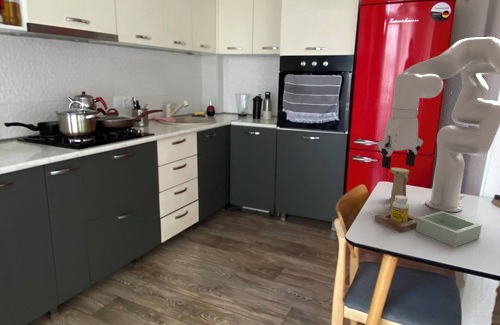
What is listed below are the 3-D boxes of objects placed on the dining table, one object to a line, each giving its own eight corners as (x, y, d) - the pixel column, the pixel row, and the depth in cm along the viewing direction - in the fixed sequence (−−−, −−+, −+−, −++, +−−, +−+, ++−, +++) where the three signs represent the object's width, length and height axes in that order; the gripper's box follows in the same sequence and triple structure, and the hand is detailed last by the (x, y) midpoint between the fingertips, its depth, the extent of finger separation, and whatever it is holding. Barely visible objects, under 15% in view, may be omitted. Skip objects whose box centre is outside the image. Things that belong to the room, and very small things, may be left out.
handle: (401, 211, 132) (406, 172, 129) (384, 206, 136) (388, 169, 133) (405, 207, 136) (410, 170, 132) (389, 203, 140) (393, 167, 136)
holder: (395, 215, 128) (396, 209, 128) (422, 226, 119) (423, 220, 119) (374, 220, 123) (374, 215, 123) (401, 232, 114) (401, 227, 113)
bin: (440, 223, 122) (442, 210, 121) (479, 238, 111) (481, 224, 110) (415, 230, 116) (417, 217, 115) (454, 247, 105) (456, 233, 104)
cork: (402, 197, 147) (405, 172, 145) (409, 202, 141) (412, 176, 139) (388, 197, 147) (391, 172, 144) (394, 202, 141) (397, 176, 138)
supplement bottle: (407, 222, 122) (411, 196, 120) (405, 228, 118) (409, 200, 115) (390, 219, 125) (394, 193, 122) (388, 224, 120) (392, 197, 118)
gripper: (416, 112, 117) (410, 162, 122) (373, 113, 112) (368, 166, 116) (434, 115, 111) (427, 167, 115) (390, 116, 105) (384, 171, 109)
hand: (397, 166), depth 115 cm, fingers open, 9 cm apart
